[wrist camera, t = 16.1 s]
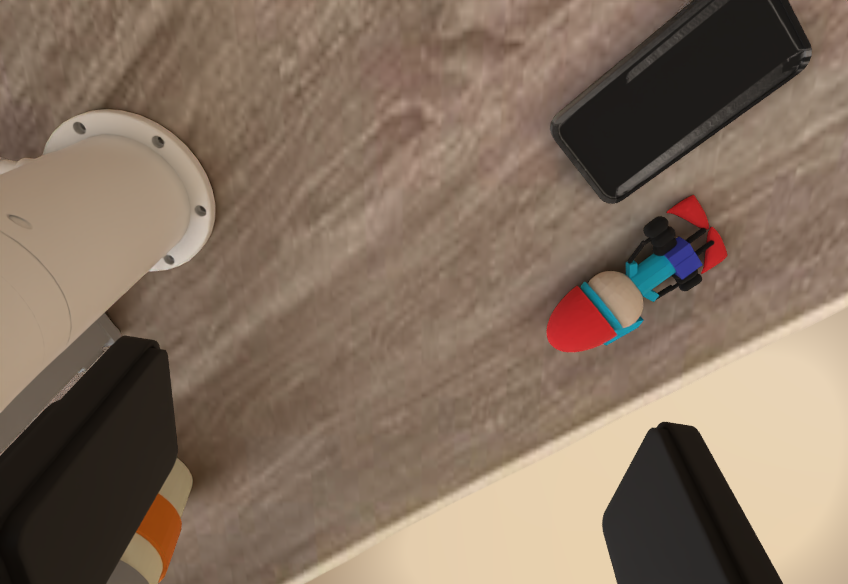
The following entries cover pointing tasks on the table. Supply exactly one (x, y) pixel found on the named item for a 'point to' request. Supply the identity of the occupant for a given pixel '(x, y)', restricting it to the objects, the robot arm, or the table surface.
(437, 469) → the table surface
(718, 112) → the phone
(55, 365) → the tall matte grey box
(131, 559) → the reusable coffee cup
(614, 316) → the toy figure
